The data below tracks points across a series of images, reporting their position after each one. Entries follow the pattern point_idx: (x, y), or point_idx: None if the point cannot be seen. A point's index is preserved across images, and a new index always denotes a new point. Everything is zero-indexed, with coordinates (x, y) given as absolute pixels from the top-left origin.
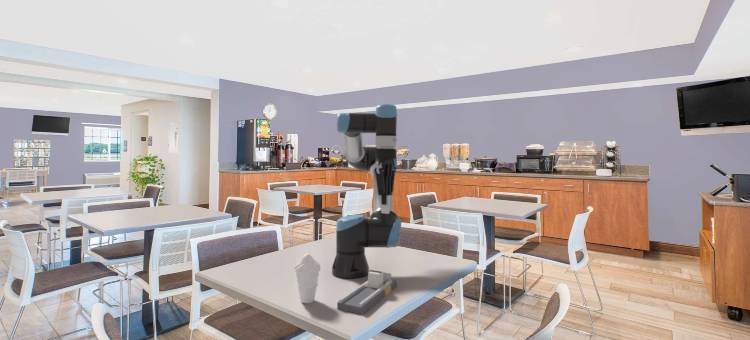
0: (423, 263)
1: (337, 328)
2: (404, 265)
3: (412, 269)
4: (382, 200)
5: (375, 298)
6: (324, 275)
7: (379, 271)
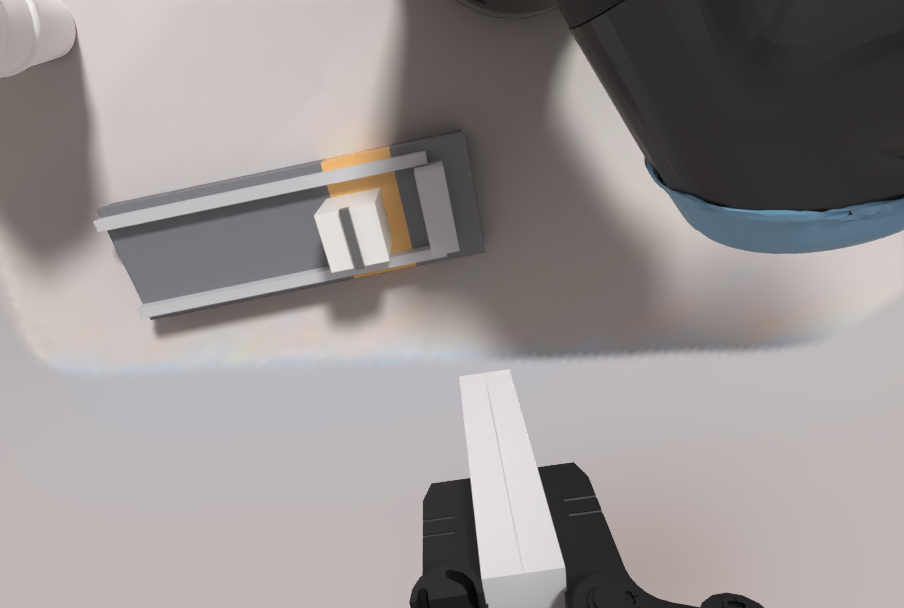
0: None
1: (21, 312)
2: None
3: None
4: (426, 548)
5: (258, 297)
6: None
7: (357, 261)
